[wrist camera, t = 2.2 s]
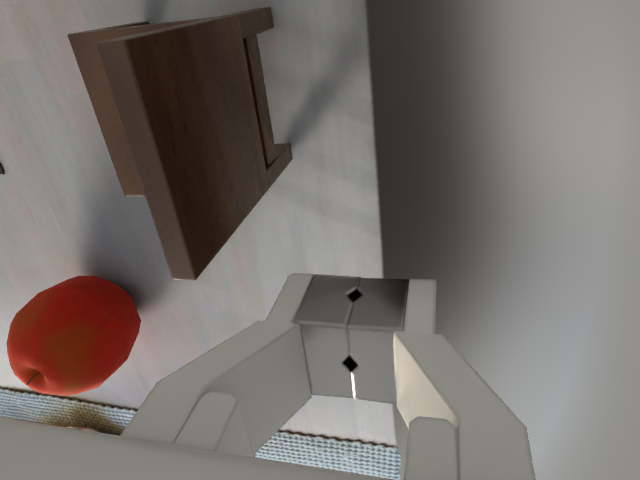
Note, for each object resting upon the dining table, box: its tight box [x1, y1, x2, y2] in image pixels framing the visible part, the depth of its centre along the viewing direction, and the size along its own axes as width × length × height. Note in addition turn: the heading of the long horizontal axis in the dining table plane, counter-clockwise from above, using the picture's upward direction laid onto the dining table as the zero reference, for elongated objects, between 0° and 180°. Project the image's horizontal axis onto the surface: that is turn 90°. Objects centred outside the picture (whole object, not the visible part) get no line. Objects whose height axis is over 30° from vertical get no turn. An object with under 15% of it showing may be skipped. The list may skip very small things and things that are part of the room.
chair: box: [68, 7, 293, 280], centre depth 26 cm, size 10×10×16 cm
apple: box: [7, 276, 141, 396], centre depth 41 cm, size 10×10×12 cm
